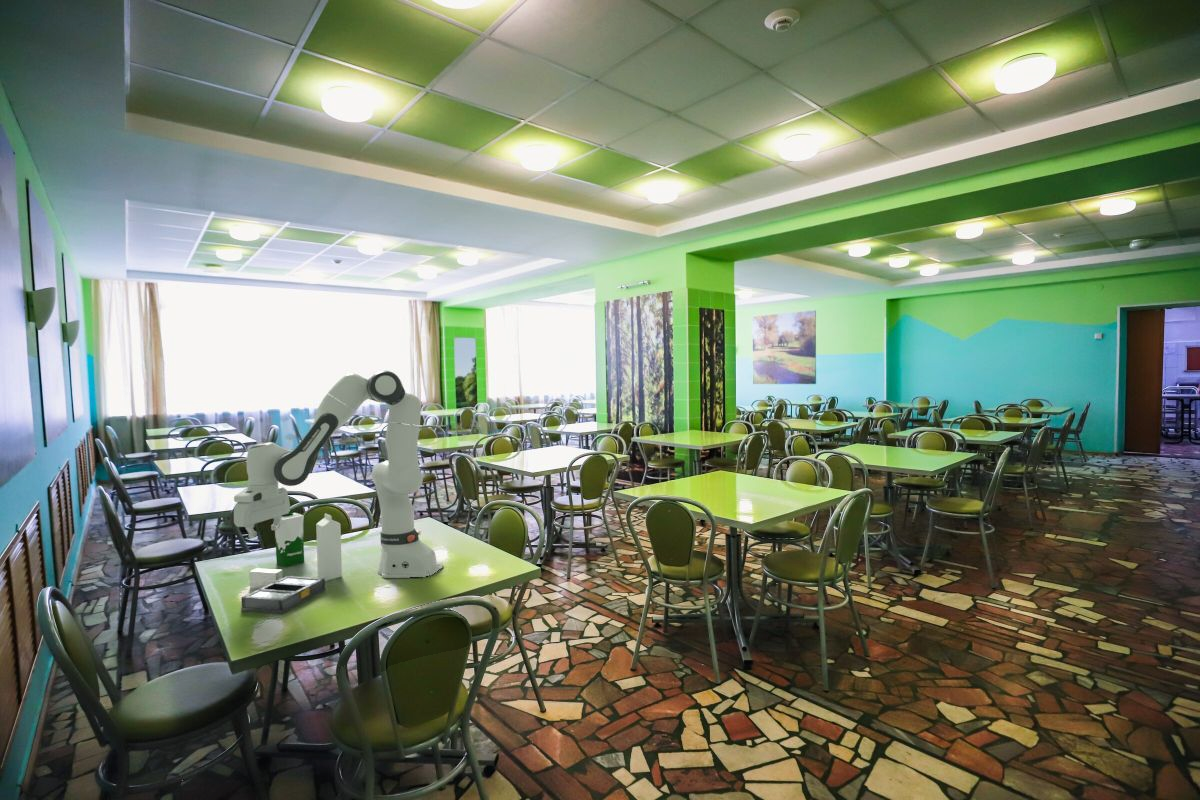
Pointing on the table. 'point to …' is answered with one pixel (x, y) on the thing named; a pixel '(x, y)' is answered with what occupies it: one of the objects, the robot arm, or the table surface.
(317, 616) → the table surface
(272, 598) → the tray
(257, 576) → the white rectangular block
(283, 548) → the milk carton
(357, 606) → the table surface
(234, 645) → the table surface
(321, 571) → the milk
